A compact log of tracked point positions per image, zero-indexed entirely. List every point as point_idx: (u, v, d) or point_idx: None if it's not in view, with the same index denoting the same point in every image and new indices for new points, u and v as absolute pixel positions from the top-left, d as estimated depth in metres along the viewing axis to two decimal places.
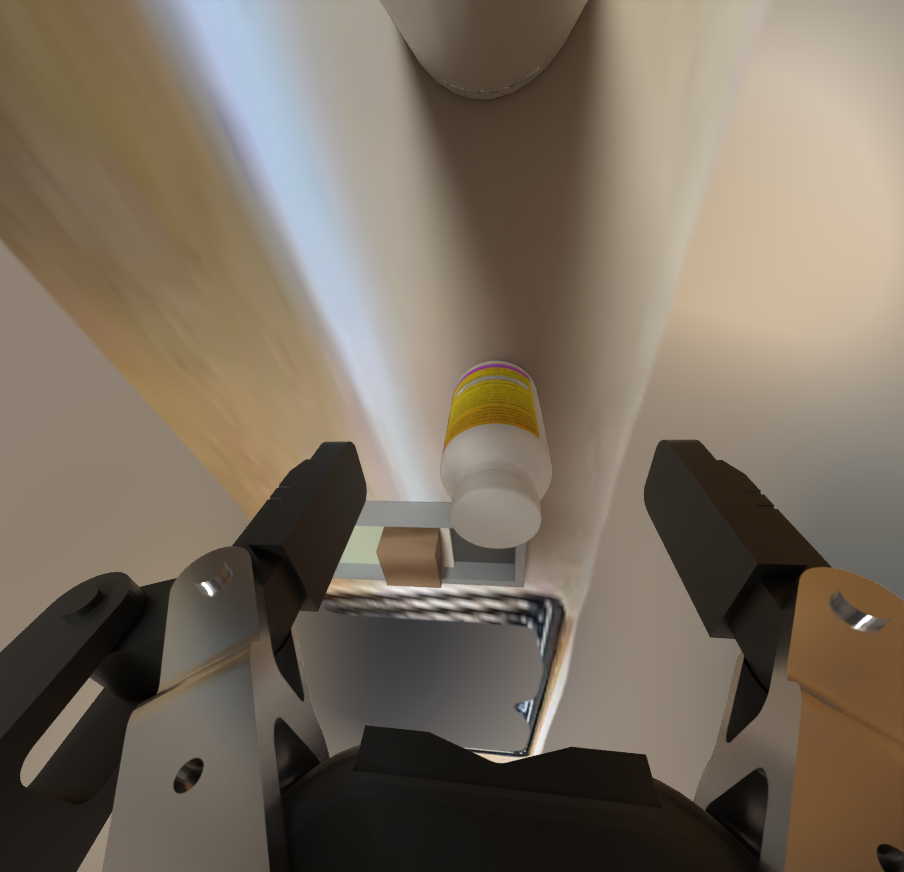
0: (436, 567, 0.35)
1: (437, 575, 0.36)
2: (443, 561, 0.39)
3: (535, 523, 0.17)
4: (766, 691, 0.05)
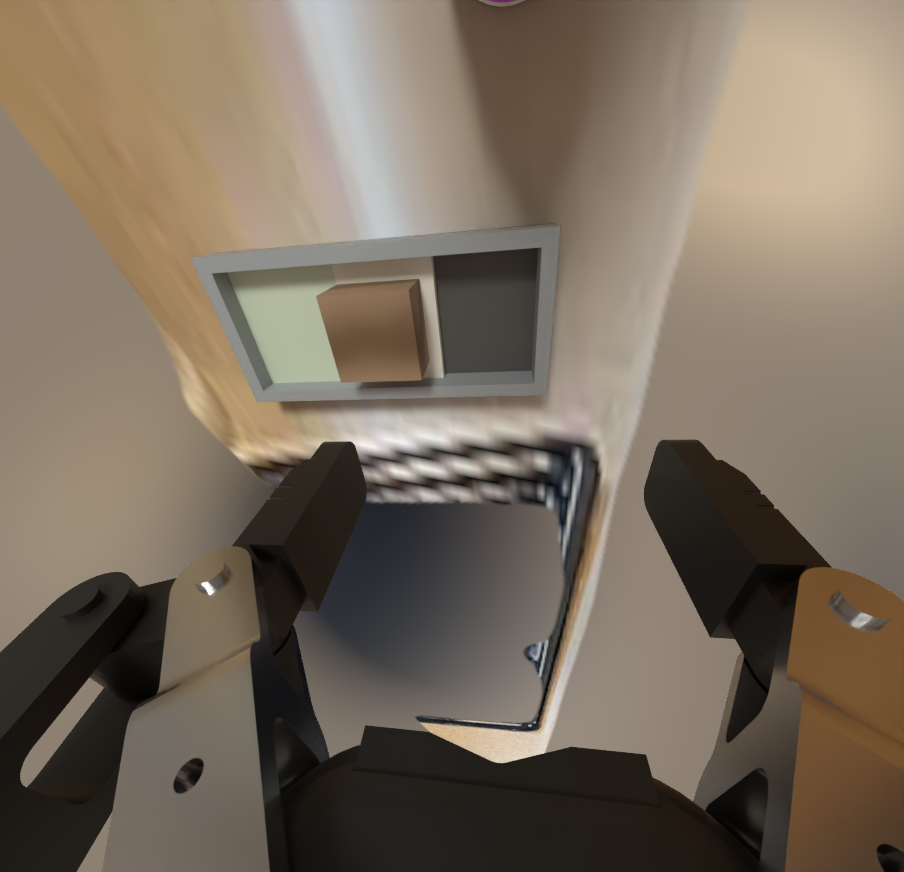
0: (412, 327, 0.22)
1: (415, 348, 0.23)
2: (426, 356, 0.26)
3: None
4: (766, 691, 0.05)
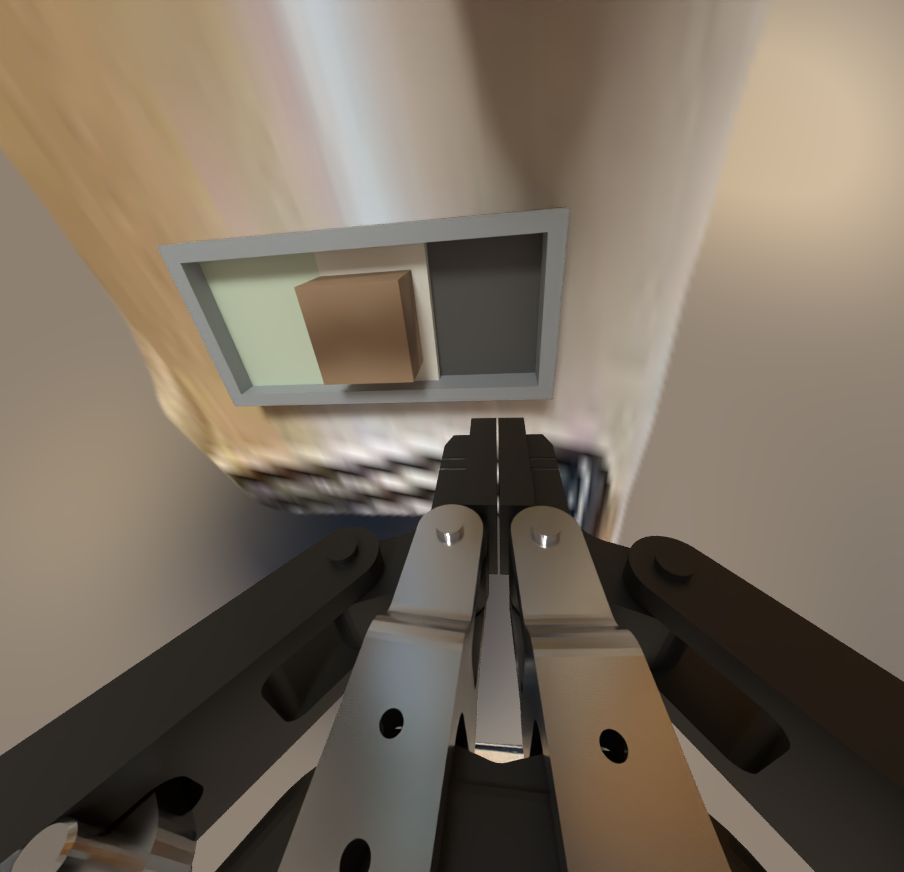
0: (403, 322, 0.20)
1: (405, 346, 0.21)
2: (420, 355, 0.24)
3: None
4: None
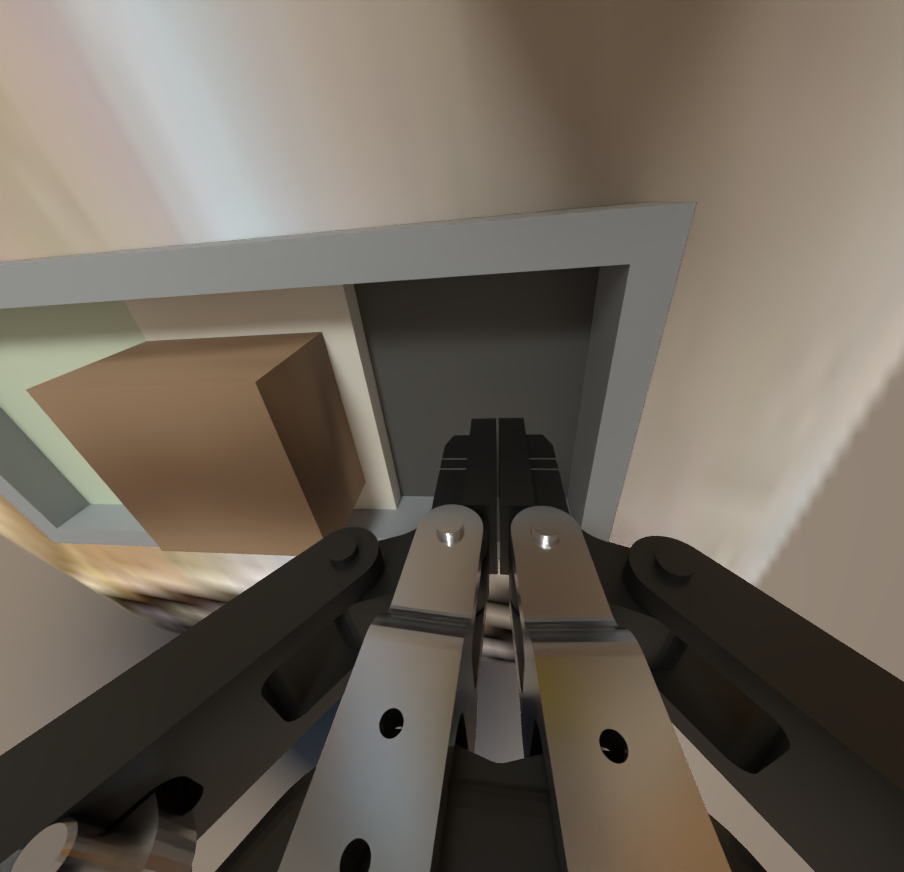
0: (288, 463, 0.09)
1: (303, 503, 0.10)
2: (355, 481, 0.13)
3: None
4: None
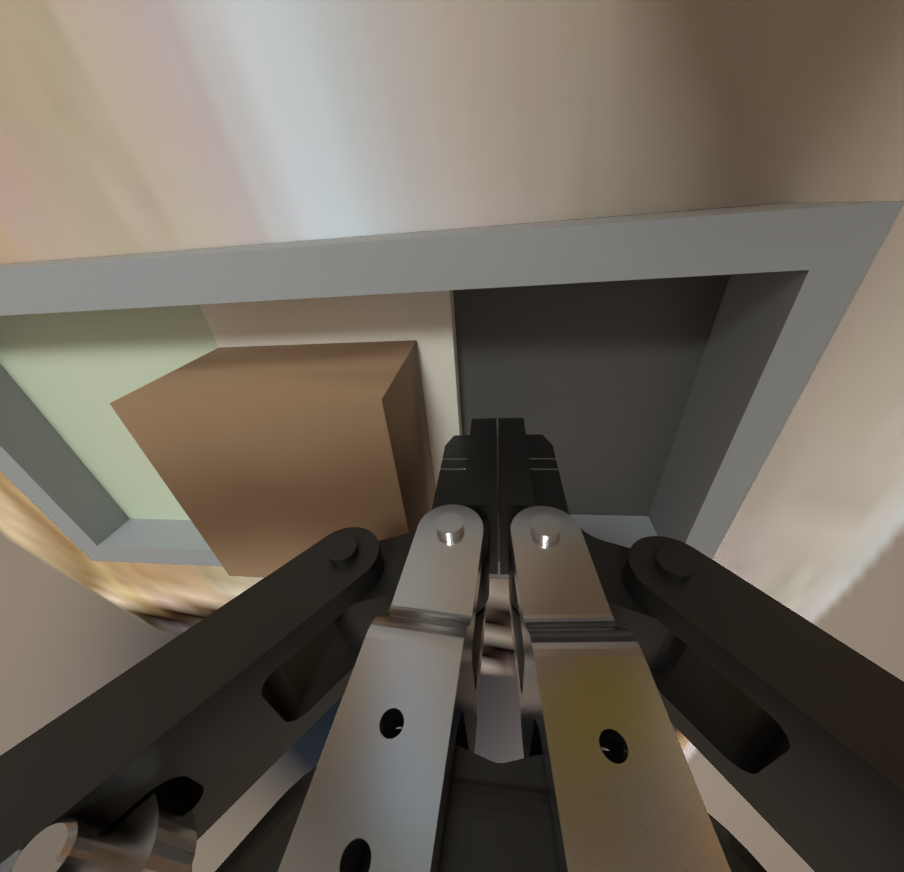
0: (396, 487, 0.08)
1: (403, 530, 0.09)
2: (432, 500, 0.12)
3: None
4: None
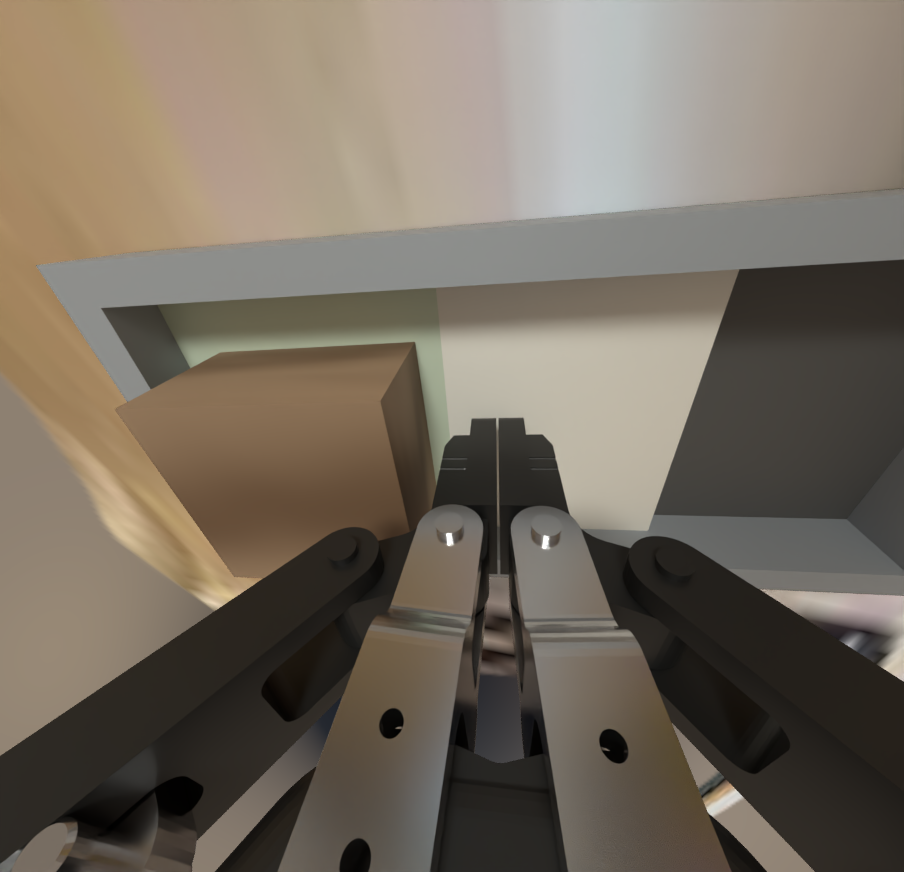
0: (396, 488, 0.08)
1: (404, 529, 0.09)
2: None
3: None
4: None
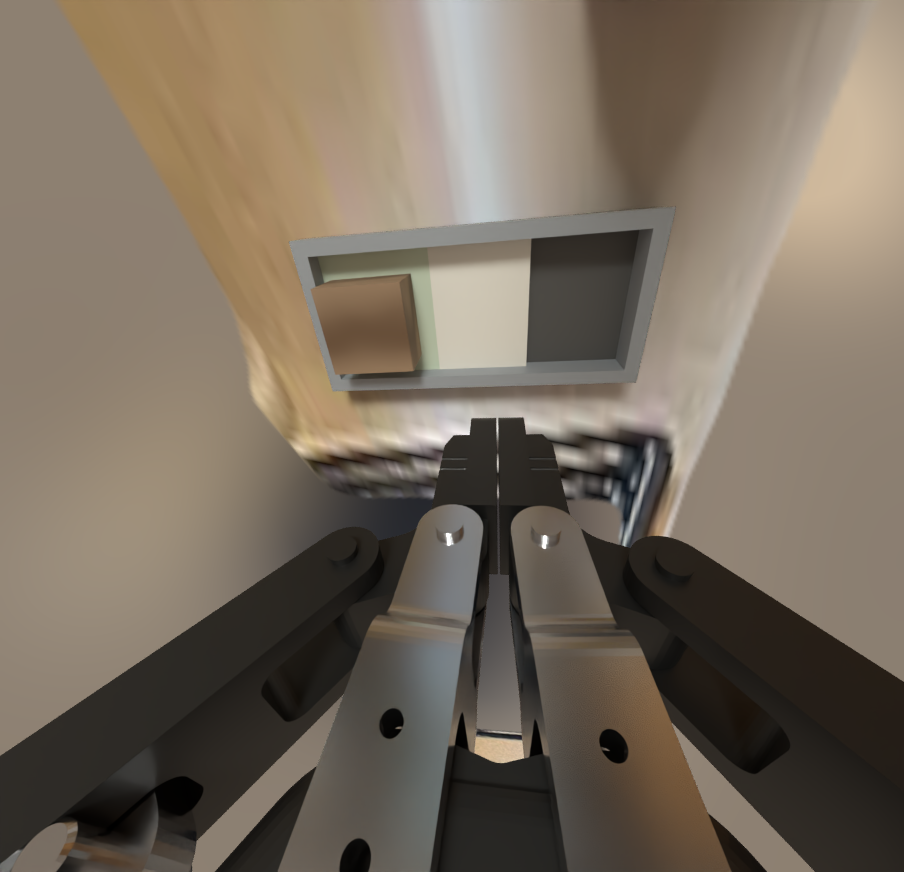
0: (403, 318, 0.23)
1: (406, 339, 0.24)
2: (419, 349, 0.27)
3: None
4: None
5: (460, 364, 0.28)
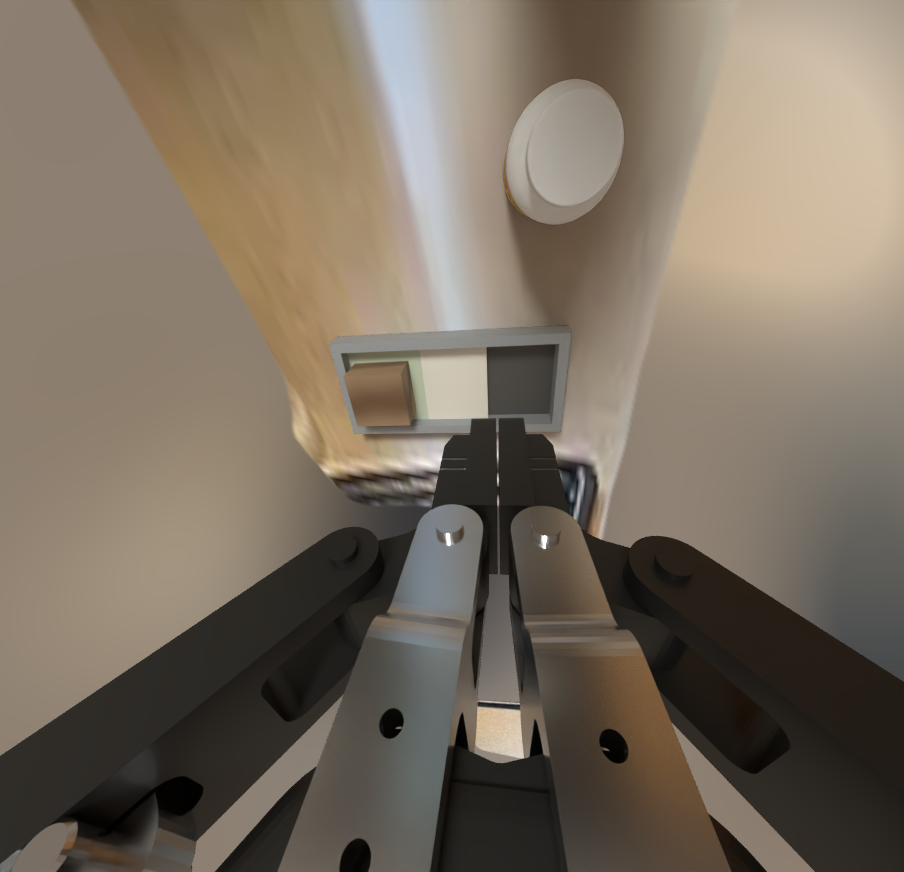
0: (403, 394, 0.35)
1: (405, 406, 0.36)
2: (414, 407, 0.39)
3: (616, 147, 0.17)
4: None
5: (443, 416, 0.40)
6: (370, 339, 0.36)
